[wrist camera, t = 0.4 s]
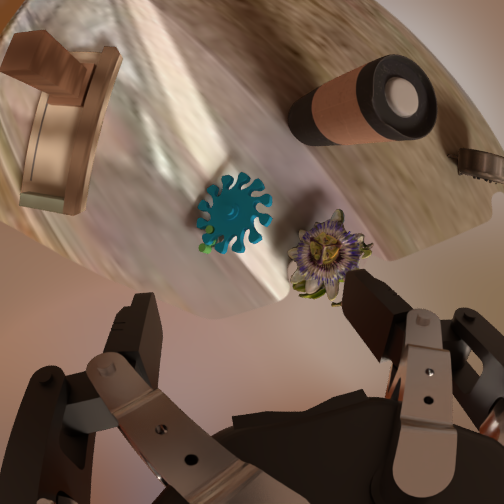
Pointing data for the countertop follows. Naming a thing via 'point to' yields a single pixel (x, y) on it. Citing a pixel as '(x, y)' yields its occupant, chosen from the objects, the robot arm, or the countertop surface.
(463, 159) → the alarm clock
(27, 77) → the panel
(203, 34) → the countertop surface
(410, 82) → the travel mug
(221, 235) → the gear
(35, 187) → the board
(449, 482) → the robot arm
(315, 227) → the passion flower
